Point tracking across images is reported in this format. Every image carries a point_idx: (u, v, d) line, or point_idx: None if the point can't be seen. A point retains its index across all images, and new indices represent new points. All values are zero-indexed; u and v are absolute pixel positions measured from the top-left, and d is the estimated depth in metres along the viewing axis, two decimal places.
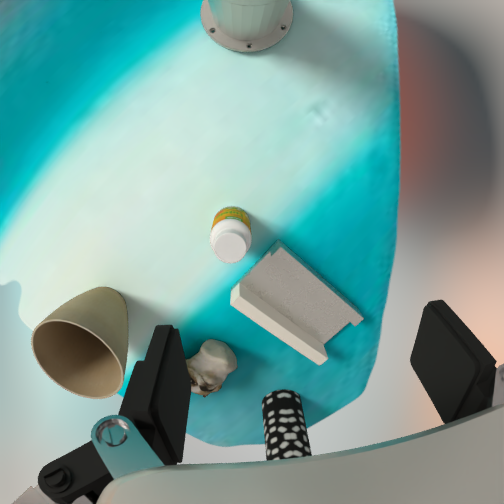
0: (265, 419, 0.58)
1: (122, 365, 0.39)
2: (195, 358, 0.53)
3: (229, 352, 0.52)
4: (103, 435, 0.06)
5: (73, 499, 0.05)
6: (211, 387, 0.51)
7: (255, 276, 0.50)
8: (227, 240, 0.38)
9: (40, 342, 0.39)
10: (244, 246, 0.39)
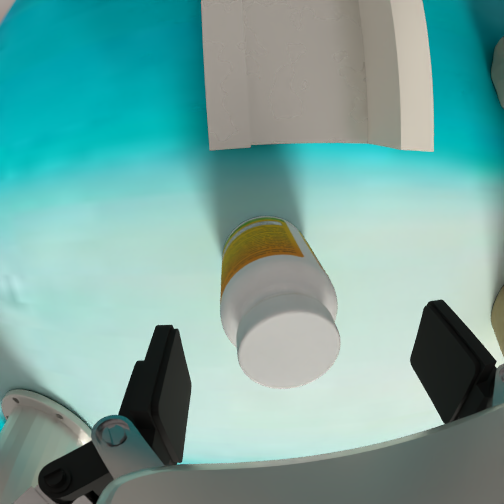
0: None
1: None
2: None
3: None
4: (103, 435, 0.06)
5: (73, 499, 0.05)
6: None
7: (329, 122, 0.17)
8: (275, 372, 0.12)
9: None
10: (253, 333, 0.11)
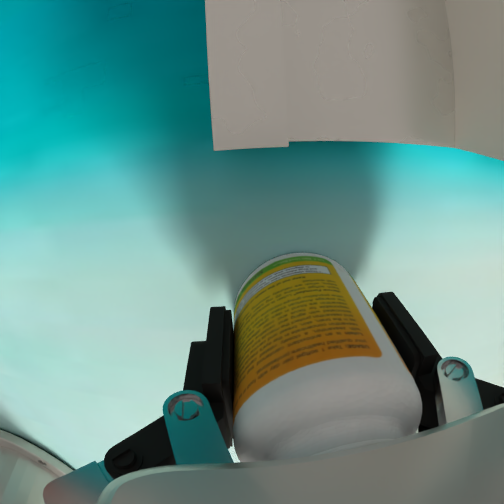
0: None
1: None
2: None
3: None
4: (176, 410, 0.07)
5: None
6: None
7: (404, 111, 0.10)
8: None
9: None
10: None
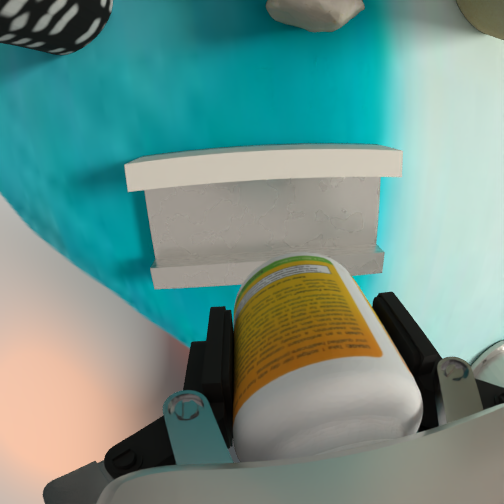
0: None
1: None
2: None
3: (319, 30, 0.18)
4: (176, 410, 0.07)
5: None
6: None
7: (367, 195, 0.27)
8: None
9: None
10: None
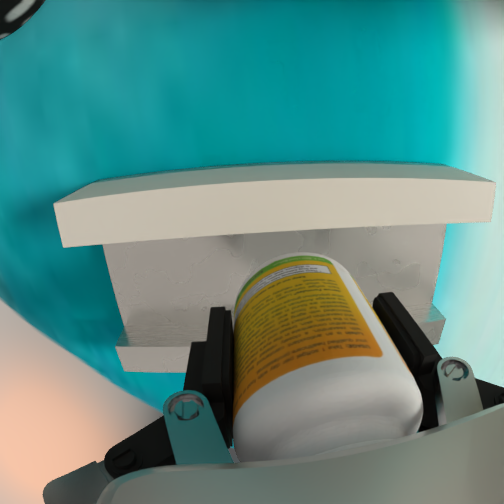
0: None
1: None
2: None
3: None
4: (176, 410, 0.07)
5: None
6: None
7: (429, 239, 0.17)
8: None
9: None
10: None
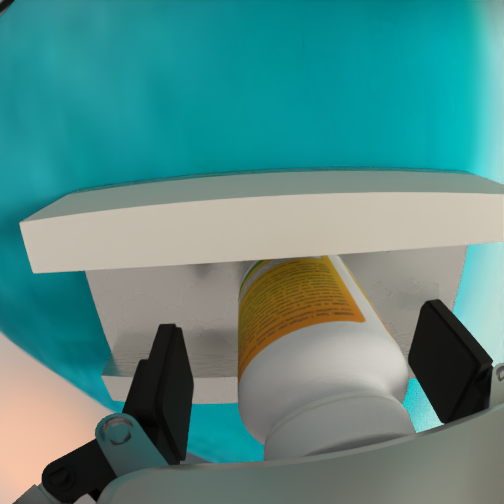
0: None
1: None
2: None
3: None
4: (107, 433, 0.06)
5: (77, 497, 0.05)
6: None
7: (450, 255, 0.15)
8: None
9: None
10: None
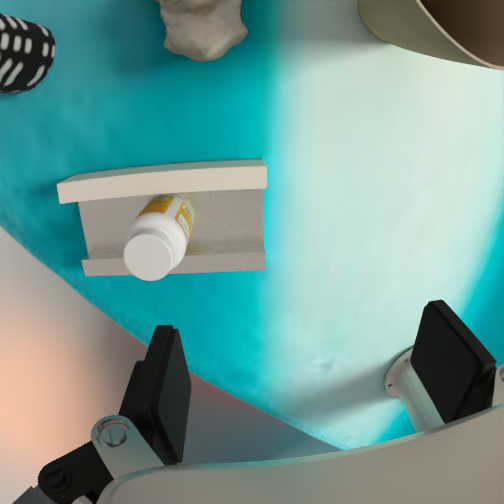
0: (26, 30, 0.19)
1: (419, 11, 0.13)
2: (239, 7, 0.22)
3: (204, 61, 0.24)
4: (103, 435, 0.06)
5: (73, 499, 0.05)
6: None
7: (251, 203, 0.33)
8: (142, 269, 0.24)
9: None
10: (128, 246, 0.23)
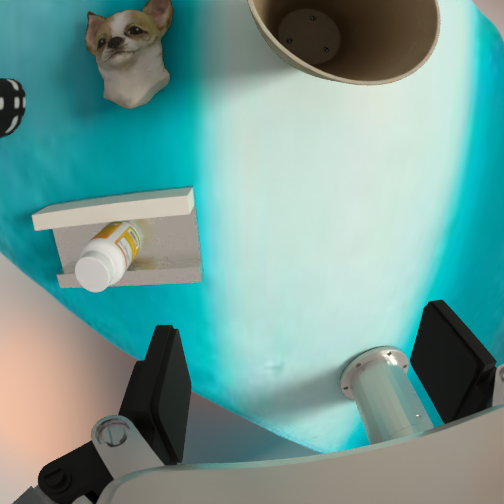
0: None
1: (277, 48, 0.18)
2: (160, 55, 0.27)
3: None
4: (103, 435, 0.06)
5: (73, 499, 0.05)
6: (107, 53, 0.24)
7: (186, 225, 0.38)
8: (89, 283, 0.29)
9: None
10: (77, 266, 0.29)
